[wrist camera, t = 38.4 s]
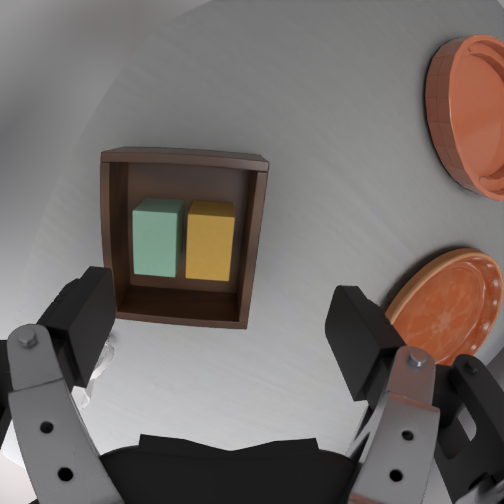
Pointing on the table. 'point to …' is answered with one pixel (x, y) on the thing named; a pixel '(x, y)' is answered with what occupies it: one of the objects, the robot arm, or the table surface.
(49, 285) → the table surface
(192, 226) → the yellow block
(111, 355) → the cup
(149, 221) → the mint green block
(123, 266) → the holder
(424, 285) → the saucer
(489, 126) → the bowl
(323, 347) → the table surface
